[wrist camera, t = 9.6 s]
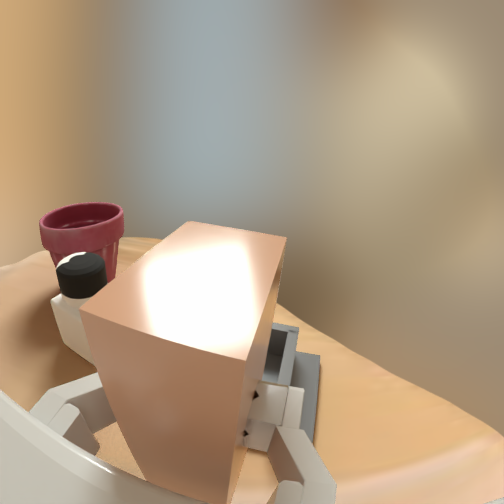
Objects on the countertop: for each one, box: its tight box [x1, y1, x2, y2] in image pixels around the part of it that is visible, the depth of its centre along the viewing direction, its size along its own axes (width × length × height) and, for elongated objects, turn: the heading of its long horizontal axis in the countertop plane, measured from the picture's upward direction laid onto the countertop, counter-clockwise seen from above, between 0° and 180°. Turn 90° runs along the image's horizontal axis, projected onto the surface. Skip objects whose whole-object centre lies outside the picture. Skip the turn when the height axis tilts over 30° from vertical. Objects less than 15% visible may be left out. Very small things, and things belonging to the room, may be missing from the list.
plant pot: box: [39, 202, 124, 283], centre depth 43 cm, size 14×14×13 cm
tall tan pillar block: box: [79, 221, 287, 504], centre depth 9 cm, size 3×5×12 cm, turn 167°
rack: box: [262, 323, 320, 443], centre depth 30 cm, size 14×14×5 cm
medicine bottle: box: [51, 252, 108, 366], centre depth 31 cm, size 7×7×12 cm
